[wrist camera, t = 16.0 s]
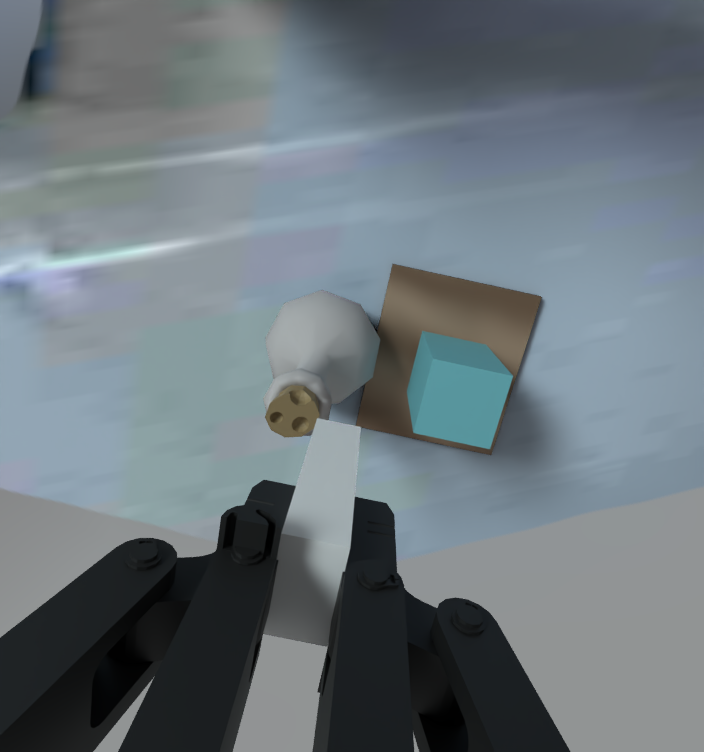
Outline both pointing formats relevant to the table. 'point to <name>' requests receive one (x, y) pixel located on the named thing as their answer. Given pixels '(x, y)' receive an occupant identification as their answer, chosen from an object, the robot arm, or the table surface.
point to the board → (444, 317)
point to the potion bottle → (316, 360)
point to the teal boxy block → (457, 390)
